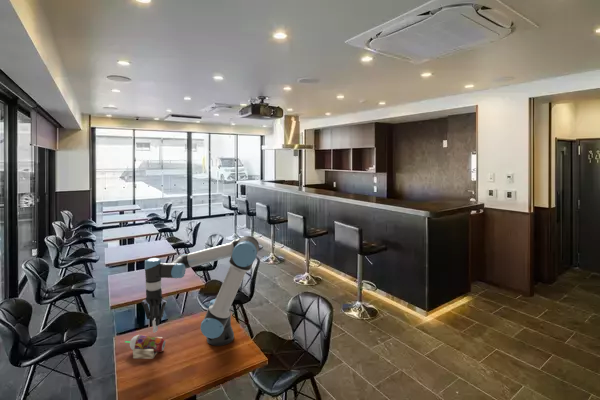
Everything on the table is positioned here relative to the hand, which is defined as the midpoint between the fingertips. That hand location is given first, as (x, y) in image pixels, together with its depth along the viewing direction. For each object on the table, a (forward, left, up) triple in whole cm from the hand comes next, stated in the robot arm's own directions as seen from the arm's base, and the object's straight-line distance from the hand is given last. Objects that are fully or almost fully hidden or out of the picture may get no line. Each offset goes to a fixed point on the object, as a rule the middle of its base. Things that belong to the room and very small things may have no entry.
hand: (155, 331), depth 176 cm
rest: (+4, 0, -11) cm, 12 cm away
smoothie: (-4, 0, -8) cm, 9 cm away
